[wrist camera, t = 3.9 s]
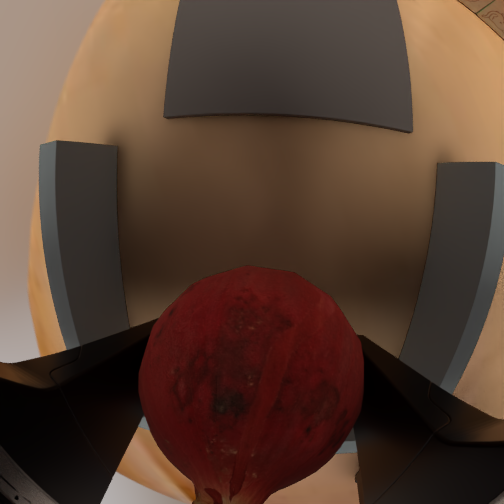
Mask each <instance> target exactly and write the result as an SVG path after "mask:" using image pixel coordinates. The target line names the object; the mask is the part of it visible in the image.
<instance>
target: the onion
mask: <svg viewBox="0 0 504 504" xmlns="http://www.w3.org/2000/svg"><path fill="white" fill-rule="evenodd" d="M138 392H139V396H140V401H141V405H142V409H143V413H144V415H145V418H146V421H147V424H148V427H149V429H150V432H151V434H152V436H153V438H154V440H155V442H156V443H157V445H158V447H159V448H160V450H161V451H162V452H163V454H164V455H165V456H166V458H167V459H168V460H169V461H170V462H171V463H172V464H173V465H174V466H175V467H176V468H177V469H178V470H179V471H180V472H181V473H182V474H183V475H185V476H186V477H187V478H188V479H190V480H191V481H192V482H193V484H194V487H195V494H196V500H195V501H193V502H192V504H263V503H264V502H265V501H266V500H267V498H268V497H269V496H270V495H271V494H273V493H275V492H276V491H278V490H280V489H283V488H286V487H288V486H290V485H292V484H294V483H297V482H299V481H301V480H302V479H304V478H306V477H308V476H310V475H311V474H313V473H315V472H316V471H318V470H319V469H320V468H321V467H322V466H324V465H325V464H326V463H327V462H328V461H330V459H331V458H332V457H333V456H334V455H335V454H336V452H337V451H338V450H339V449H340V448H341V446H342V444H343V443H344V441H345V440H346V438H347V436H348V435H349V433H350V432H351V430H352V428H353V426H354V424H355V422H356V420H357V418H358V416H359V414H360V412H361V408H362V401H363V395H364V359H363V352H362V346H361V341H360V340H359V338H358V336H357V335H356V333H355V332H354V330H353V328H352V327H351V325H350V324H349V322H348V320H347V319H346V317H345V316H344V314H343V313H342V311H341V309H340V308H339V307H338V305H337V304H336V303H335V301H334V300H333V299H332V297H331V296H329V295H328V294H326V293H325V292H323V291H322V290H320V289H319V288H317V287H316V286H314V285H313V284H311V283H310V282H308V281H307V280H305V279H304V278H302V277H301V276H299V275H298V274H296V273H295V272H289V271H282V270H276V269H269V268H262V267H255V266H249V265H246V266H243V267H239V268H236V269H233V270H229V271H226V272H222V273H219V274H216V275H212V276H209V277H206V278H204V279H202V280H200V281H198V282H196V283H194V284H192V285H191V286H190V287H189V288H188V289H186V290H185V291H184V292H183V293H182V294H181V295H180V296H179V297H178V298H177V299H176V300H175V301H174V302H173V303H172V304H171V305H170V306H169V307H168V308H167V309H166V310H165V311H164V312H163V314H162V315H161V316H160V317H159V319H158V320H157V321H156V323H155V324H154V325H153V328H152V331H151V334H150V337H149V340H148V343H147V346H146V349H145V353H144V356H143V359H142V363H141V366H140V370H139V380H138Z"/></svg>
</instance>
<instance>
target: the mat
mask: <svg viewBox="0 0 504 504" xmlns="http://www.w3.org/2000/svg"><path fill="white" fill-rule="evenodd" d="M219 115H266V116H288V117H303V118H315V119H325V120H334V121H342V122H349V123H356V124H363V125H369V126H375V127H380V128H385V129H391V130H396V131H400V132H405V133H412V132H413V114H412V95H411V82H410V72H409V64H408V56H407V49H406V43H405V37H404V31H403V26H402V21H401V17H400V12H399V8H398V4H397V0H180V2H179V7H178V12H177V17H176V22H175V28H174V33H173V39H172V46H171V52H170V59H169V67H168V75H167V84H166V93H165V104H164V116H163V117H164V118H167V119H170V118H182V117H196V116H219Z"/></svg>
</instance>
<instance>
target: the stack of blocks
mask: <svg viewBox="0 0 504 504" xmlns="http://www.w3.org/2000/svg"><path fill="white" fill-rule="evenodd" d="M459 1H460V2H461V3H463V4H464V5H465V6H467V7H468V8H469V9H470V10H472V11H473V12H474V13H476V14H477V15H478V16H479V17H480V18H481V19H482V20H483V21H484V22H486V23H487V24H488V25H489V26H490V27H491V28H492V29H493V30H494V31H495V32H496V33H498V34H499V35H500V36H501V37H502V38H503V39H504V0H459Z"/></svg>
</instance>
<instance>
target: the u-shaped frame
mask: <svg viewBox="0 0 504 504" xmlns="http://www.w3.org/2000/svg"><path fill="white" fill-rule="evenodd" d="M117 148H118V146H112V145H104V144H94V143H83V142H71V141H57V140H56V141H53V142H49V143H45V144H42V145H40V155H39V203H40V219H41V230H42V240H43V248H44V255H45V262H46V268H47V274H48V279H49V284H50V289H51V294H52V298H53V303H54V307H55V311H56V315H57V318H58V322H59V326H60V329H61V333H62V336H63V339H64V343H65V346H66V349H67V350H68V349H72V348H75V347H78V346H81V347H82V345H84V344H87V343H90V342H93V341H96V340H98V339H101V338H104V337H107V336H110V335H113V334H116V333H119V332H121V331H124V330H127V329H130V327H129V322H128V316H127V310H126V303H125V296H124V289H123V281H122V272H121V263H120V252H119V239H118V221H117ZM503 257H504V165H502V164H500V163H497V162H451V163H437V182H436V195H435V206H434V215H433V223H432V230H431V237H430V243H429V249H428V254H427V260H426V265H425V270H424V274H423V279H422V283H421V287H420V292H419V296H418V299H417V303H416V307H415V311H414V314H413V318H412V321H411V324H410V328H409V331H408V334H407V337H406V340H405V343H404V346H403V349H402V352H401V354H400V357H399V360H401V361H402V362H403V363H405V364H406V365H408V366H409V367H411V368H412V369H414V370H415V371H417V372H418V373H420V374H421V375H423V376H424V377H426V378H427V379H429V380H430V381H431V382H433V383H435V384H436V385H438V386H439V387H441V388H442V389H444V390H445V391H447V392H448V393H450V394H452V393H453V392H454V390H455V388H456V386H457V384H458V382H459V380H460V378H461V376H462V374H463V372H464V370H465V368H466V366H467V364H468V362H469V360H470V358H471V355H472V353H473V351H474V349H475V346H476V344H477V341H478V339H479V336H480V334H481V331H482V329H483V326H484V323H485V321H486V318H487V315H488V312H489V309H490V306H491V303H492V299H493V296H494V293H495V289H496V286H497V282H498V278H499V274H500V270H501V266H502V261H503ZM138 427H141V428H144V429H147V430H150V429H149V427H148V424H147V421H146V418H145V415H144V416H143V418H142V420H141V422H140V424H139V426H138ZM356 452H357V447H356V441H355V435H354V429H353V428H352V430H351V432H350V433H349V435H348V436H347V438H346V440H345V441H344V443H343V444H342V446H341V448H340V449H339V450H338V451H337V452H336V454H341V453H356Z"/></svg>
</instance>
